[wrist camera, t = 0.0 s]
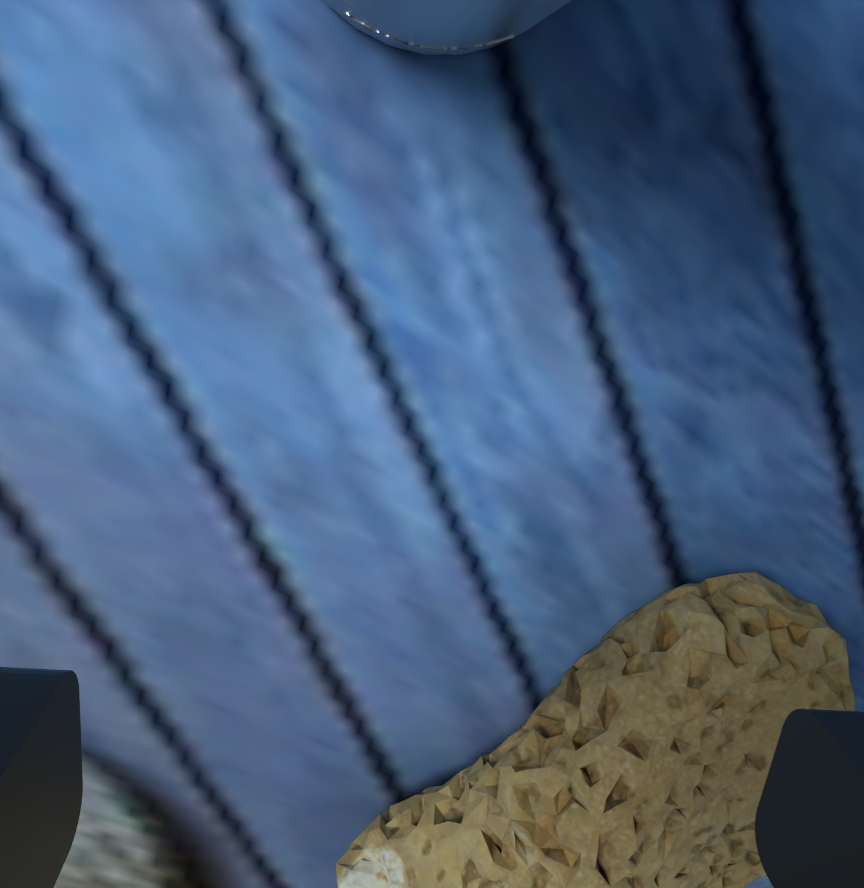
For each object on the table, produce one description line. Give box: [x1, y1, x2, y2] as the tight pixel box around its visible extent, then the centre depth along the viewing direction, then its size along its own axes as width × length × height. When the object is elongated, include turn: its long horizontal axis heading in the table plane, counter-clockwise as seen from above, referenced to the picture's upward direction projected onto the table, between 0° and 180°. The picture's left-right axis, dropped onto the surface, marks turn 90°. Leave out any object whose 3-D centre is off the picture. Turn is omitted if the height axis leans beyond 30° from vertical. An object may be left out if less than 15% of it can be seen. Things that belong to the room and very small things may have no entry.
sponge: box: [336, 572, 856, 888], centre depth 28 cm, size 13×8×20 cm
